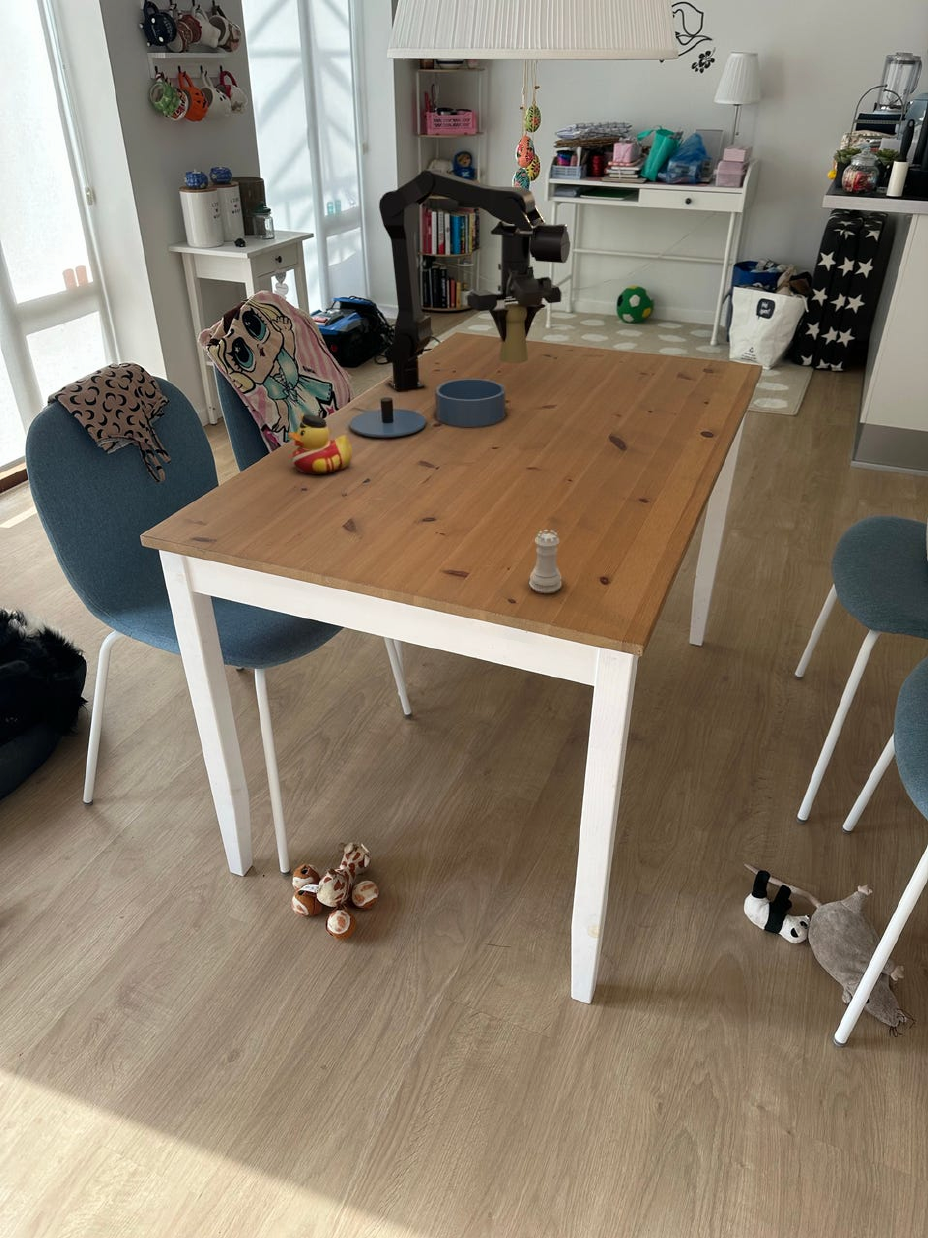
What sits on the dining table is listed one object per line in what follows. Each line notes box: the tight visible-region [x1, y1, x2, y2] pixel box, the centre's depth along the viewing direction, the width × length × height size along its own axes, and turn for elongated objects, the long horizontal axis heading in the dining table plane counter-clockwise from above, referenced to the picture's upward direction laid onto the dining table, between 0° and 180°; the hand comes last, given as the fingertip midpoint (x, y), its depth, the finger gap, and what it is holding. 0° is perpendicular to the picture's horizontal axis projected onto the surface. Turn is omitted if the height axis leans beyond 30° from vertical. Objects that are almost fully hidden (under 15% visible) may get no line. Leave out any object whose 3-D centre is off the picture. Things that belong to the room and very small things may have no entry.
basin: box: [434, 378, 506, 428], centre depth 178 cm, size 14×14×5 cm
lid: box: [349, 396, 427, 438], centre depth 173 cm, size 15×15×6 cm
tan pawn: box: [498, 302, 529, 364], centre depth 180 cm, size 6×6×11 cm
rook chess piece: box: [528, 529, 563, 594], centre depth 118 cm, size 4×4×8 cm
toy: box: [288, 413, 353, 475], centre depth 154 cm, size 9×11×10 cm
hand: (513, 340), depth 181 cm, fingers closed on tan pawn, 4 cm apart
